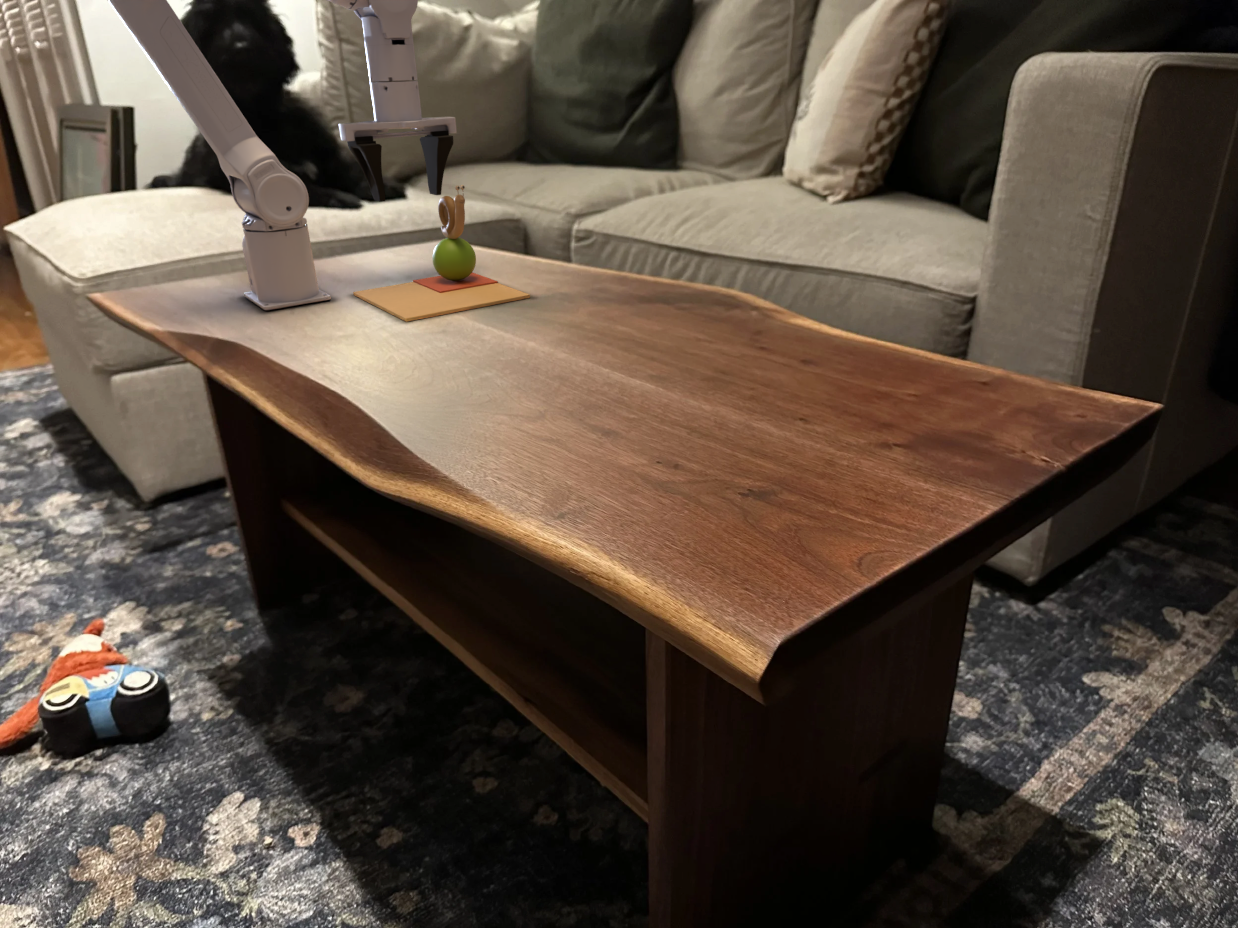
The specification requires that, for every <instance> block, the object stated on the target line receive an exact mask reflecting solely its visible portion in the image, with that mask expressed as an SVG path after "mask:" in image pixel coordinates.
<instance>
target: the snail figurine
mask: <svg viewBox="0 0 1238 928" xmlns="http://www.w3.org/2000/svg"><path fill="white" fill-rule="evenodd" d="M454 189H455V190H456V191H457V192H459V191H460V190H462V191H464V190H465V185H464V184H461V185H455V187H454ZM465 204H466V198H465V196H464V194H459V193H457V194H456V195H455V196H454V198H453V197H452V196H450V195H444V196H442V197H441V198H440V199H439V201H438V205H437V210H438V211H437V212H438V217H439V220H440V222H441V224H442V225H441V226H440V230H441V233H442V234H443V236H444V237H445V238H443V239H441V240H440V241H439V242H438V243H437V244H436V245H435V247H434V249H433V252H432V257H431V258H432V260H431V261H432V264H433V267H434V269H435V271H436V273H437V274H438V275H439V276H442V277H443V278H445V279H447V280H451V281H459V280H463V279H465V278H467V277H468V276H469V275H470V274H471V273H472V272H473V271H475V267H476V264H477V255H476V252H475V249H474V248H473V246H472V245H471V244H470V243H469V242H468V241H467V240H465V239H463V238H461V236H462V235H463V232H464V229H465V220H466V211H465V210H466V209H465ZM473 273H474V272H473Z"/></svg>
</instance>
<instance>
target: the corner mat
mask: <svg viewBox="0 0 1238 928" xmlns="http://www.w3.org/2000/svg"><path fill="white" fill-rule="evenodd" d="M352 294H353V296H355V297H357V298H359V299H360V300H363V301H364V302H366V303H369V304H370V305H373V306H374V307H376V308H378V309H380V310H382V311H384V312H386V313H388V314H390V315H392V316H394V317H396V318H397V319H400V320H402V321H404V322H413V321H417V320H422V319H427V318H433V317H438V316H443V315H449V314H454V313H458V312H463V311H470V310H473V309H479V308H485V307H489V306H495V305H500V304H506V303H510V302H515V301H521V300H526V299H530V298H531V294H530V293H527V292H524V291H521V290H519V289H516V288H512V287H510V286H507V285H505V284H502V283H499V282H498V281H497V280H495V279H492V278H490V277H487V276H484V275H481V274H478V273H476V272H472V273H471V274H470V275H469V276H468V277H467V278H465V279H463V280H459V281H451V280H447V279H445V278H443V277H442V276H441V275H436V276H430V277H424V278H419V279H413V280H412V281H409V282H404V283H398V284H393V285H387V286H386V285H385V286H380V287H374V288H369V289H363V290H357V291H353V292H352Z"/></svg>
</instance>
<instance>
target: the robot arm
mask: <svg viewBox="0 0 1238 928" xmlns="http://www.w3.org/2000/svg"><path fill="white" fill-rule="evenodd" d="M326 1H327V2H330V3H332V4H334V5H337V6H339V7H341V8H344V9H346V10H348V11H351V12H352V11H353V12H354V14H355V15H356V16H357V17H358V19H359V20H361V24H362V31H363V42H364V49H365V56H366V63H367V64H366V65H367V72H368V79H369V87H370V88H369V89H370V96H371V102H372V108H373V118H374V120H366V121H356V122H354V121H353V122H344V123H338V129H339V136H340V141H343V142H347V147H348V149H349V151H350V152H351V154H352V155H353V157H354V158H355V160H356V162H357V163H358V165H359V167H360V168H361V170H362V172H363V174H364V177H365V179H366V181H367V184H368V187H369V189H370V192H371V195H372V198H373V201H375V202H379V203H381V202H386V191H385V184H384V178H383V171H382V168H383V167H382V150H383V149H382V147H383V146H382V145H381V143H377V140H375V139H378V140H379V139H389V138H402V137H417V136H420V138H419V141H420V145H421V149H422V153H423V158H424V162H425V167H426V177H427V178H426V179H427V186H428V187H427V188H428V191H429V194H430V195H434V196H442V189H443V180H444V175H445V169H446V166H447V163H448V162H447V161H448V159H449V155H450V153H451V150H452V148H453V145H454V135H450V134H458V132H457V131H458V130H457V120H456V117H455V116H436V117H435V116H434V117H423V115H422V114H423V113H422V106H421V97H420V89H419V88H420V87H419V81H418V80H419V78H418V70H417V60H416V53H415V51H416V50H415V43H414V42H415V41H414V37H413V35H414V34H413V26H412V19H413V17H414V15H415V13H416V11H417V8H418V2H419V0H326ZM107 2H108V3H109V5H110V6H111V7H112V9H113V11H114V12H115V13H116V14H117V16H118V17H119V19H120V20H121V22H122V23H123V24H124V26H125V28H126V29H127V30H128V31H129V33H130V34H131V36H132V37H133V39H134V40H135V42H136V43H137V44H138V46H139V47H140V49H141V50H142V52H143V53H144V55H145V56H146V57H147V59H148V60H149V61H150V63H151V64H152V66H153V67H154V69H155V70H156V72H157V73H158V74H159V75H160V77H161V79H162V80H163V81H164V84H166V85H167V87H168V89H169V90H170V91H171V93H172V94H173V95H174V97H175V98H176V100H177V101H178V102H179V103H180V105H181V107H182V108H183V110H184V111H185V112H186V114H187V116H188V117H189V118H190V119H191V121H192V122H193V124H194V126H195V127H196V128H197V129H198V131H199V132H200V134H201V136H202V137H203V138H204V140H205V141H206V142H207V144H208V145H209V146H210V148H211V149H212V151H213V152H214V153H215V155H216V157H217V160H218V163H219V166H220V168H221V171H222V172H223V173H224V175H225V177H226V178H227V180H228V182H229V184H230V190H231V195H232V199H233V201H234V203H235V204H236V206H237V207H238V208H239V209H240V210H241V211H242V212H244V216H243V219H242V221H241V226H242V230H243V237H242V243H241V247H242V252H243V256H244V257H243V258H244V262H245V266H246V267H245V268H246V271H247V276H248V282H249V287H250V290H249V291H244V292H243V297H245V298H246V299H248V300H249V301H250V302H253V303H254V304H255V305H256V306H258V307H259V308H261V309H262V310H264V311H270V310H277V309H283V308H289V307H294V306H299V305H305V304H311V303H318V302H323V301H329V300H331V299H332V296H331V294H329V293H327V292H325V291H323V290H321V289H320V288H319V285H318V279H317V272H316V268H315V267H316V266H315V260H314V255H313V250H312V249H313V248H312V244H311V237H310V232H309V226H308V220H307V218H306V217H305V215H306V214H307V211H308V208H309V203H310V197H309V193H308V189H307V186H306V184H305V182H303V180H302V179H301V178H300V177H299V176H298V175H297V174H295V173H294V172H292V171H290V170H288V169H287V168H286V167H285V166H284V165H283V164H282V163H281V162H280V160H279V158H278V157H277V156H276V154H275V153H274V152H273V151H272V150H271V148H269V147H268V146H267V145H266V144H265V143H264V142H263V141H262V139H260V138H259V136H258V135H257V134H256V132H255V131H254V130H253V128H252V126H251V125H250V124H249V122H248V120H247V118H246V117H245V116H244V115H243V113H242V111H241V110H240V108H239V107H238V105H237V104H236V102H235V100H234V99H233V98H232V96H231V95H230V93H229V91H228V90H227V89H226V87H225V86H224V84H223V83H222V81H221V80H220V78H219V76H218V75H217V73H216V72H215V71H214V69H213V68H212V66H211V64H210V63H209V62H208V60H207V58H206V57H205V55H204V54H203V53H202V50H201V49H200V48H199V46H198V45H197V44H196V42H195V40H194V39H193V37H192V36H191V35H190V33H189V32H188V30H187V29H186V27H185V26H184V24H183V23H182V21H181V20H180V18H179V17H178V15H177V14H176V12H175V11H174V9H173V8H172V6H171V5H170V3H169V1H167V0H107ZM402 129H403V130H404V129H405V130H406V129H410V130H412V131H399V132H389V130H402Z"/></svg>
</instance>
